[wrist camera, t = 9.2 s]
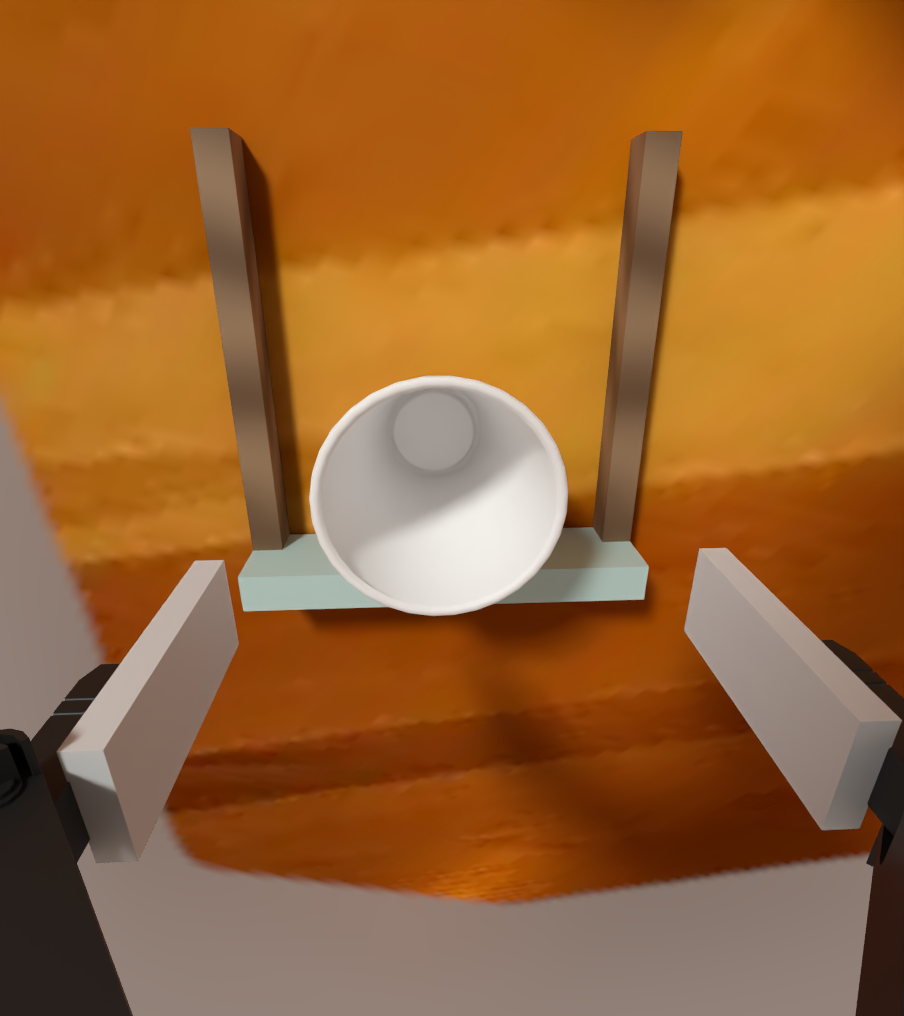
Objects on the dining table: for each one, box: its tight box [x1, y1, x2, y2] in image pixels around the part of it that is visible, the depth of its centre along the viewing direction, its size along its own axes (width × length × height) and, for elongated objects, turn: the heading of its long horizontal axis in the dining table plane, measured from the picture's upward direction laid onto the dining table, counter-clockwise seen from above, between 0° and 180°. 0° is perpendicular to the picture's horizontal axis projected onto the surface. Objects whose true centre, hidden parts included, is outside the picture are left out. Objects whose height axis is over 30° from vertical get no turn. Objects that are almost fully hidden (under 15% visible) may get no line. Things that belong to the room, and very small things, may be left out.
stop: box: [238, 527, 649, 611], centre depth 33 cm, size 2×21×5 cm, turn 90°
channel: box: [190, 128, 682, 551], centre depth 31 cm, size 22×21×2 cm
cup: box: [309, 376, 568, 616], centre depth 28 cm, size 10×10×11 cm
